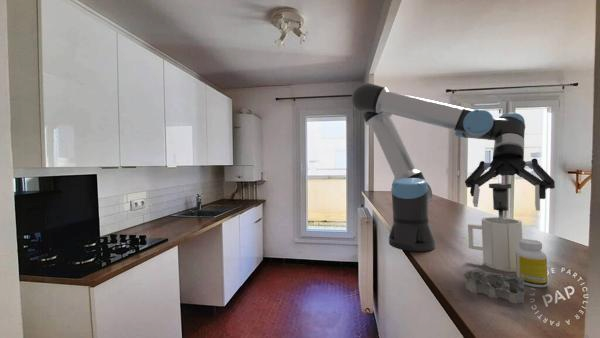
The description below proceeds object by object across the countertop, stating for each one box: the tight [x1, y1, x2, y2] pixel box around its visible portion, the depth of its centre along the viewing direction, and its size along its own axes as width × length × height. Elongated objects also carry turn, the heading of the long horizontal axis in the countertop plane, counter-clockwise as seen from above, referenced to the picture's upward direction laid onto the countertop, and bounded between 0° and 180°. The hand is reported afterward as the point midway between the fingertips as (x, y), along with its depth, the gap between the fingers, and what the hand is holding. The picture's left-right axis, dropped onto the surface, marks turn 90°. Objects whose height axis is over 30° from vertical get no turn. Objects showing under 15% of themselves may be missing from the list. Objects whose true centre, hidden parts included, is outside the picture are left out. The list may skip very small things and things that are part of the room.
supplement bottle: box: [515, 238, 548, 288], centre depth 59 cm, size 5×5×10 cm
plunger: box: [488, 182, 512, 223], centre depth 69 cm, size 6×6×20 cm
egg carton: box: [463, 268, 525, 304], centre depth 57 cm, size 11×8×4 cm
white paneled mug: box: [467, 216, 524, 273], centre depth 71 cm, size 12×8×12 cm
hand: (504, 206), depth 70 cm, fingers open, 13 cm apart
